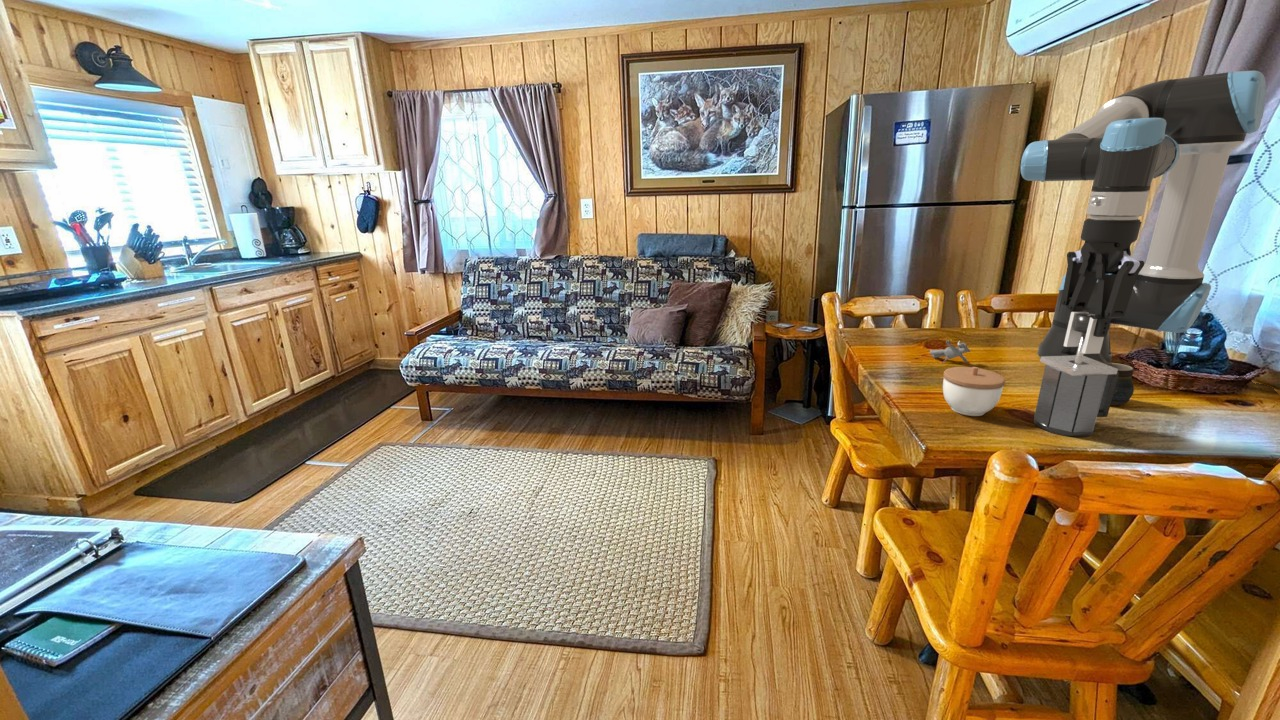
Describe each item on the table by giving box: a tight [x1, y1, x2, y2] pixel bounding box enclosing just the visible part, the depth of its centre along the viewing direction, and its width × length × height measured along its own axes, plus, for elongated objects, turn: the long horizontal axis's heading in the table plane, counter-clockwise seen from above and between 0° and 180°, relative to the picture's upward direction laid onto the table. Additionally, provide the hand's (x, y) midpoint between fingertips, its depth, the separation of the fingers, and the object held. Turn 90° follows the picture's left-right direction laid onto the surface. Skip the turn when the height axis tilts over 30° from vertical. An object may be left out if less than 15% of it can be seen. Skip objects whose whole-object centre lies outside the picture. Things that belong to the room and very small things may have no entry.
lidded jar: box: [942, 366, 1006, 417], centre depth 111 cm, size 11×11×9 cm
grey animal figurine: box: [929, 339, 971, 364], centre depth 141 cm, size 10×6×9 cm
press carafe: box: [1033, 355, 1119, 438], centre depth 102 cm, size 12×9×13 cm
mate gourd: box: [1098, 353, 1135, 407], centre depth 114 cm, size 7×8×10 cm
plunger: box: [1073, 313, 1095, 365], centre depth 100 cm, size 6×6×18 cm
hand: (1081, 349), depth 100 cm, fingers closed on plunger, 4 cm apart
